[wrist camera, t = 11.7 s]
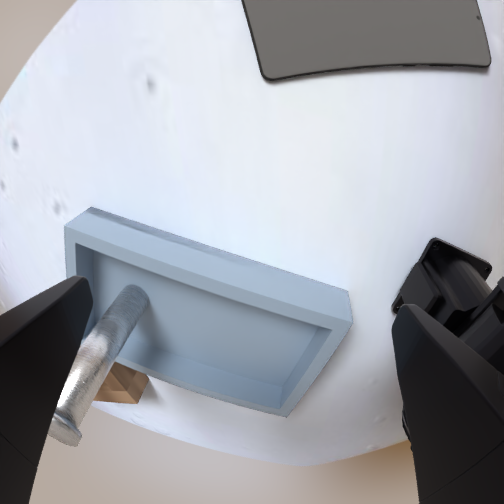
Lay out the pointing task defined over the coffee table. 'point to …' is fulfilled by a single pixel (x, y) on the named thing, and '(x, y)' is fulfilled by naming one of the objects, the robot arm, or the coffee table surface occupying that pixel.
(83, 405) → the metal pin
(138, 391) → the pin block
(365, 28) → the smartphone
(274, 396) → the tray
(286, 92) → the coffee table surface
